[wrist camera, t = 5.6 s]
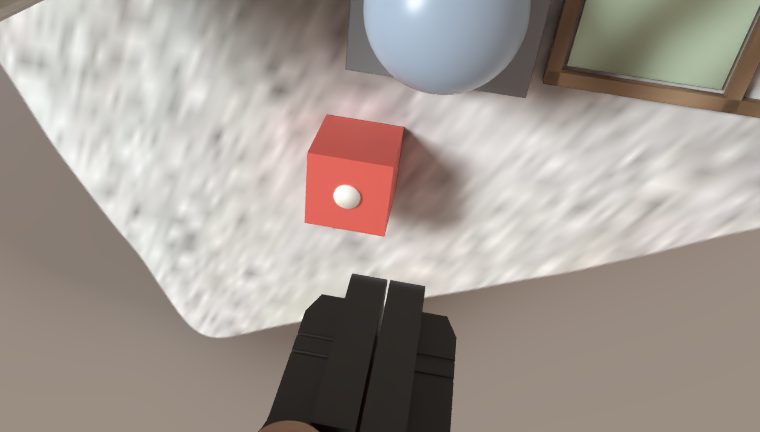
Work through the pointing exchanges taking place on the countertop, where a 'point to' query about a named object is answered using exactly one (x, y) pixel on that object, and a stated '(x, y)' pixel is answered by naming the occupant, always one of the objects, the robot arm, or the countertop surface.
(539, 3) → the housing
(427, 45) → the pale blue sphere
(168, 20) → the countertop surface
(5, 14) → the disposable coffee cup
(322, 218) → the die
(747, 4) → the window frame
